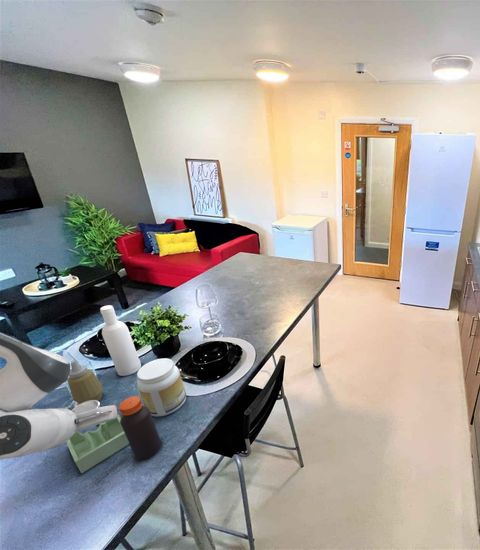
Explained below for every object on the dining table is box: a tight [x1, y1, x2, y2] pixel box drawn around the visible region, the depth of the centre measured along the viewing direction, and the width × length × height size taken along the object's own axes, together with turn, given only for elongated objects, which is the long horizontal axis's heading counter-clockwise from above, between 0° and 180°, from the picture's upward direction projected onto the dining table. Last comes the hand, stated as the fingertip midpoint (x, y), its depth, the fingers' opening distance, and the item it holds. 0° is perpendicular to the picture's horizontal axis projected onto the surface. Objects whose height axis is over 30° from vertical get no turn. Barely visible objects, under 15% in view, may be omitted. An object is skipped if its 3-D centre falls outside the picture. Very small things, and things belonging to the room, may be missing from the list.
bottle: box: [99, 304, 142, 377], centre depth 114 cm, size 8×8×30 cm
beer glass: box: [71, 400, 114, 451], centre depth 87 cm, size 7×7×15 cm
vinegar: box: [118, 395, 162, 461], centre depth 86 cm, size 7×7×20 cm
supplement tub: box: [136, 357, 187, 417], centre depth 102 cm, size 12×12×17 cm
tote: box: [65, 412, 130, 474], centre depth 90 cm, size 13×13×5 cm
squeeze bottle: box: [66, 360, 104, 405], centre depth 102 cm, size 8×8×18 cm
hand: (77, 425), depth 79 cm, fingers open, 8 cm apart
